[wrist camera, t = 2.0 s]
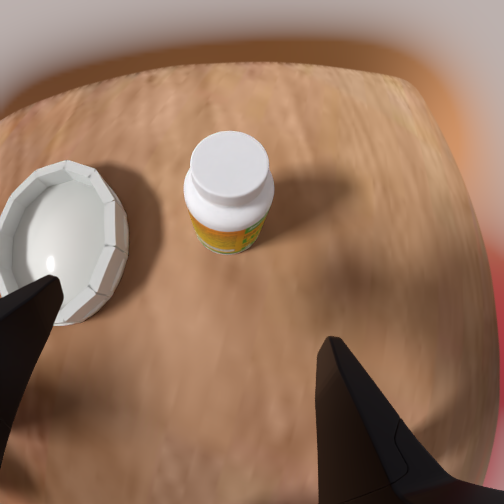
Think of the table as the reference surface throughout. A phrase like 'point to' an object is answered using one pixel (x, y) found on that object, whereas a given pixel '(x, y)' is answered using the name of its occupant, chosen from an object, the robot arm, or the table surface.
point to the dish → (65, 237)
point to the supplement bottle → (228, 191)
